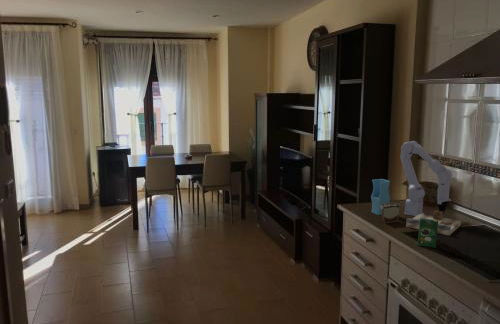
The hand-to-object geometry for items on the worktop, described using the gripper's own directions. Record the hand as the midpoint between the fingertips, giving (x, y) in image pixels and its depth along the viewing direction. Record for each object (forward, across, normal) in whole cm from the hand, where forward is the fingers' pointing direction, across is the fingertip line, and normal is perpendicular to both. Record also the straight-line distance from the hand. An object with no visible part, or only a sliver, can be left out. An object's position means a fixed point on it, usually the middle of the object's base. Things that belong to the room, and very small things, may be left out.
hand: (441, 214), depth 239 cm
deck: (+3, -15, 0) cm, 15 cm away
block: (+1, -7, 0) cm, 7 cm away
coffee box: (+4, -49, -7) cm, 50 cm away
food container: (+4, -22, +23) cm, 32 cm away
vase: (+4, -9, +33) cm, 34 cm away
